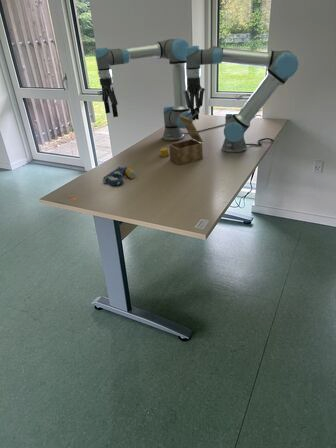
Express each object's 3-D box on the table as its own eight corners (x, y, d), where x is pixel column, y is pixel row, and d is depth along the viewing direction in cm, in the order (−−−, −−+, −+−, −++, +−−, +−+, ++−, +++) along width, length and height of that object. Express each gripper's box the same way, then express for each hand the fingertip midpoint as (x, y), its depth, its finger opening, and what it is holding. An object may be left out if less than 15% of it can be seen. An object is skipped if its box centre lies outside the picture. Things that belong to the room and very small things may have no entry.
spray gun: (141, 172, 194) (120, 170, 201) (140, 166, 192) (119, 164, 199) (122, 188, 179) (100, 185, 185) (121, 181, 177) (98, 178, 183)
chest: (179, 164, 202) (178, 149, 197) (170, 159, 211) (169, 144, 205) (202, 158, 208) (202, 143, 203) (193, 153, 217) (192, 138, 211)
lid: (188, 119, 191) (199, 109, 192) (178, 115, 200) (189, 106, 201) (201, 142, 202) (212, 133, 203) (191, 138, 211) (202, 129, 212)
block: (161, 157, 215) (160, 150, 213) (160, 155, 219) (160, 148, 217) (168, 156, 216) (167, 149, 214) (167, 154, 219) (166, 147, 217)
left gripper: (93, 76, 203) (99, 112, 214) (107, 80, 184) (113, 119, 195) (104, 75, 206) (110, 110, 217) (119, 78, 187) (125, 117, 198)
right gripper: (185, 79, 182) (187, 123, 194) (208, 75, 187) (209, 118, 199) (179, 78, 188) (181, 120, 200) (201, 74, 193) (202, 116, 205)
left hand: (111, 114), depth 206 cm, fingers open, 13 cm apart
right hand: (195, 119), depth 200 cm, fingers closed on lid, 2 cm apart
